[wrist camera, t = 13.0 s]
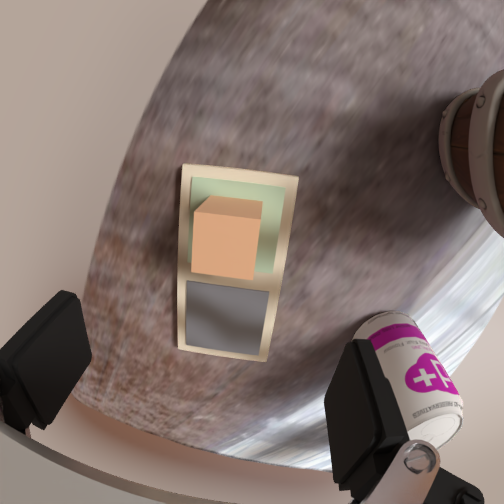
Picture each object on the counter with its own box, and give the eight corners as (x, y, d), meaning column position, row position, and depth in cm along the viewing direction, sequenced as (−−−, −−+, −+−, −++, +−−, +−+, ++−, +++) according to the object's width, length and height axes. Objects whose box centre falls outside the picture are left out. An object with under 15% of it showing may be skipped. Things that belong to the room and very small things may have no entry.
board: (185, 163, 26) (182, 164, 25) (297, 176, 26) (299, 177, 25) (180, 343, 33) (177, 350, 32) (266, 356, 33) (266, 363, 32)
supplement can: (373, 298, 30) (428, 403, 16) (426, 319, 30) (485, 410, 17) (335, 354, 33) (360, 464, 19) (388, 369, 33) (425, 464, 19)
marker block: (210, 195, 26) (194, 211, 20) (262, 201, 26) (260, 219, 20) (206, 244, 27) (191, 272, 22) (256, 250, 27) (252, 280, 22)
